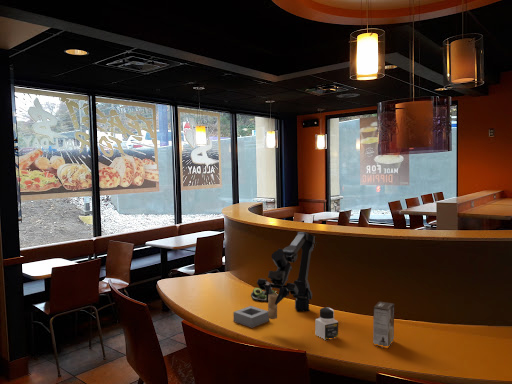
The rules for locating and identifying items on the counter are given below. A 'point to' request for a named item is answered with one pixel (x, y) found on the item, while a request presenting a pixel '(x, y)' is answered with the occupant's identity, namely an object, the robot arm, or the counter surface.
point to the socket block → (251, 316)
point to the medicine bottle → (326, 324)
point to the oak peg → (272, 306)
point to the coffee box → (383, 323)
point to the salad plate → (260, 295)
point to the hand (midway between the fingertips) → (271, 303)
